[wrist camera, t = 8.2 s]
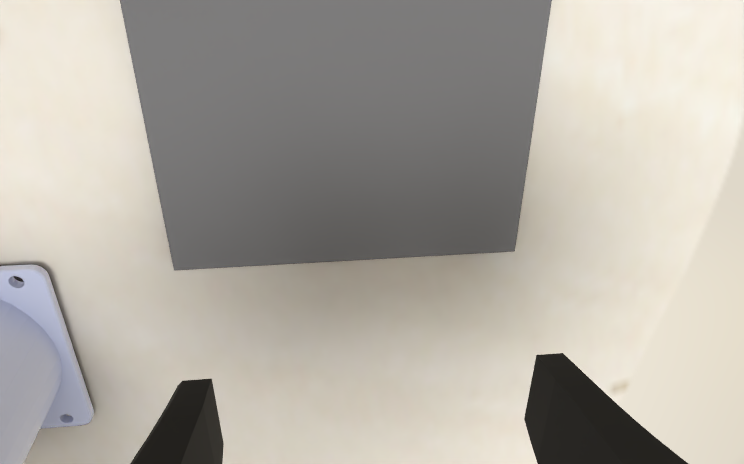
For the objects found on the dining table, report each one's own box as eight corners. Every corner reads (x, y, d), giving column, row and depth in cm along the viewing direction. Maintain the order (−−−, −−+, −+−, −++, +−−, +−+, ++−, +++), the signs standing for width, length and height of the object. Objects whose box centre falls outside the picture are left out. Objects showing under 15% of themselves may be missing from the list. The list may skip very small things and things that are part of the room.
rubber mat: (176, 264, 22) (174, 270, 22) (95, -144, 16) (90, -145, 15) (511, 245, 24) (514, 251, 23) (566, -141, 17) (572, -141, 17)
